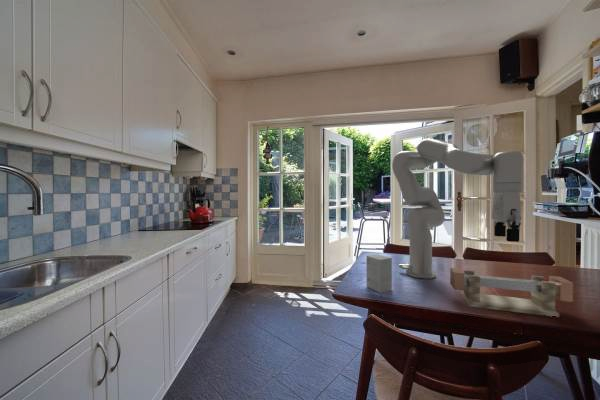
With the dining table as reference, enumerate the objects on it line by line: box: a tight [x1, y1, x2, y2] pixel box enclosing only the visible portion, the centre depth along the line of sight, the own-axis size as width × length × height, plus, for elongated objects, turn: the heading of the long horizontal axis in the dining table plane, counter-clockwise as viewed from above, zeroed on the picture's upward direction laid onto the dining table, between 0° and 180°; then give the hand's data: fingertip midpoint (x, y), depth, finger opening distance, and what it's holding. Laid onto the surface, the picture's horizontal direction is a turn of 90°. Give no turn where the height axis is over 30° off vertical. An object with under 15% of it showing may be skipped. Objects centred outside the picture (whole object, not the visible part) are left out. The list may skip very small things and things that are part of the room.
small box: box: [366, 253, 393, 294], centre depth 101 cm, size 8×6×13 cm
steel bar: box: [449, 267, 574, 303], centre depth 85 cm, size 32×6×6 cm, turn 71°
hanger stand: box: [461, 269, 560, 318], centre depth 85 cm, size 24×10×10 cm, turn 71°
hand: (505, 238), depth 85 cm, fingers open, 9 cm apart
